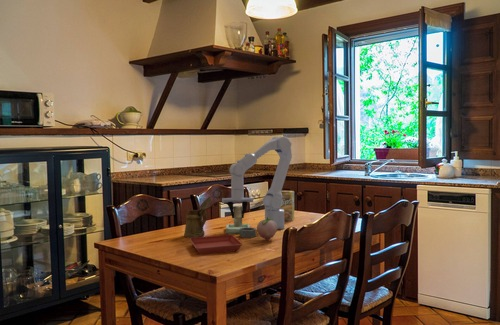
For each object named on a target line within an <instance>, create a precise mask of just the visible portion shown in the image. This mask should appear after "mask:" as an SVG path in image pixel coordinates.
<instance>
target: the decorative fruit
mask: <svg viewBox="0 0 500 325" xmlns="http://www.w3.org/2000/svg"><path fill="white" fill-rule="evenodd" d="M277 230H278V229H277V225H276V223H275V222H274V221H273V219H271V218H268V217H267V219H265V218H264V219H262V220H260V221H259V222H258V224H257V226H256V233H257V234H258V236H260V237H261V238H262V239H264V240H266V241H269V240H270V239H272V238H274V236H275V235H276V234H277Z"/></svg>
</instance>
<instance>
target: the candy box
mask: <svg viewBox="0 0 500 325" xmlns="http://www.w3.org/2000/svg"><path fill="white" fill-rule="evenodd" d="M281 193H282V205H281V207H280V209H284V221H288V222H289V221H290V222H293V221H295V191H294V190H281Z"/></svg>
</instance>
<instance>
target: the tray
mask: <svg viewBox="0 0 500 325" xmlns="http://www.w3.org/2000/svg"><path fill="white" fill-rule="evenodd" d="M225 226H226V227H225V235H233V234H235V235H237V234H239V235H240V228H245V227H251V225H250V223H242V226H241V227H234V223H232V224H231V223H228V224H227V223H226V225H225Z"/></svg>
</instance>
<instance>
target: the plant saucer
mask: <svg viewBox="0 0 500 325" xmlns="http://www.w3.org/2000/svg"><path fill="white" fill-rule="evenodd" d="M189 240H190V242H191V243H192V245H193V246H194V248H195V249H196V251H197V252H198V253H199V254H200V255H204V254H216V253H227V252H236V251H238V250H239V249H240V248H241V247H242V246H243V243H242V242H241V241H240V240H239V239H237V237H235V236H234V235H233V234H222V235H210V236H202V237H196V238H189Z"/></svg>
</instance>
